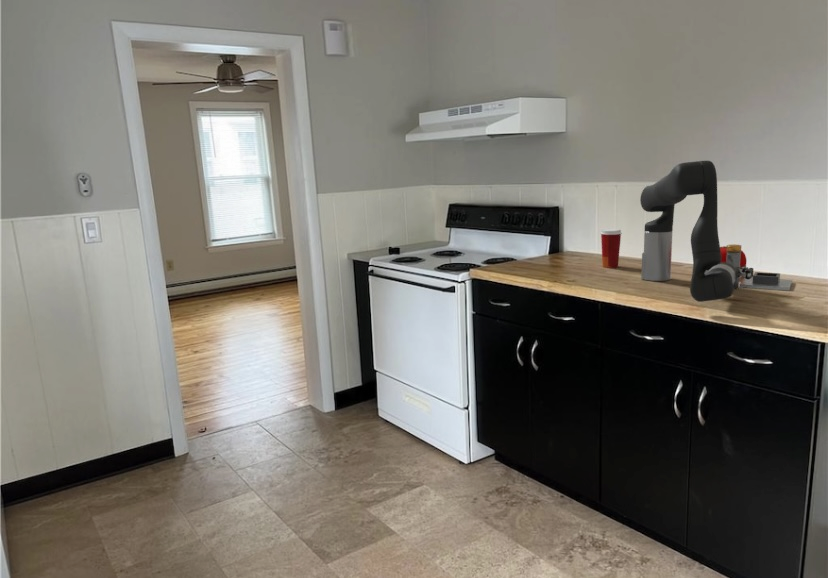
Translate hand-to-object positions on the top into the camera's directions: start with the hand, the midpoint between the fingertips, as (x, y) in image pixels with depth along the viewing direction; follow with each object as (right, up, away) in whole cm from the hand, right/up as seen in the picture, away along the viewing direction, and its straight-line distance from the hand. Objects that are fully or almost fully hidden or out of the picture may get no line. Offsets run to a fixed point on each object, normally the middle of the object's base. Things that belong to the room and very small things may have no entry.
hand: (729, 268), depth 191 cm
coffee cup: (-19, +2, +57) cm, 60 cm away
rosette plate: (+17, -5, +10) cm, 20 cm away
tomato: (+13, -2, +28) cm, 31 cm away
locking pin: (+5, -6, +7) cm, 11 cm away
